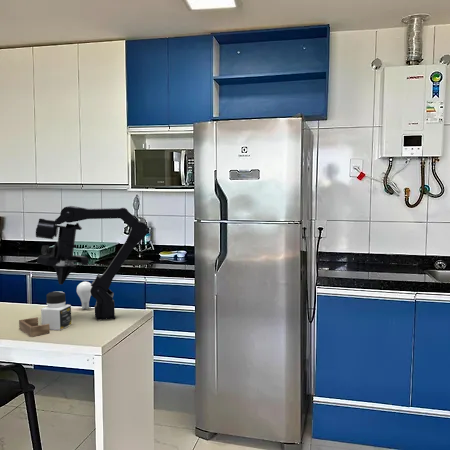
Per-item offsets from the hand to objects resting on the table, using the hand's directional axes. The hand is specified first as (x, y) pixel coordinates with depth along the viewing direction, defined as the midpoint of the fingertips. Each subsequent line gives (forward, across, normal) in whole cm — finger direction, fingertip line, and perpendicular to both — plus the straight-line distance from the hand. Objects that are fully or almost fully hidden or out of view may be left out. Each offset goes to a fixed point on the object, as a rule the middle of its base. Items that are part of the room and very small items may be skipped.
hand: (60, 284), depth 170 cm
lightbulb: (+12, -17, -4) cm, 21 cm away
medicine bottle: (+14, +5, +6) cm, 16 cm away
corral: (+14, +12, +4) cm, 19 cm away
